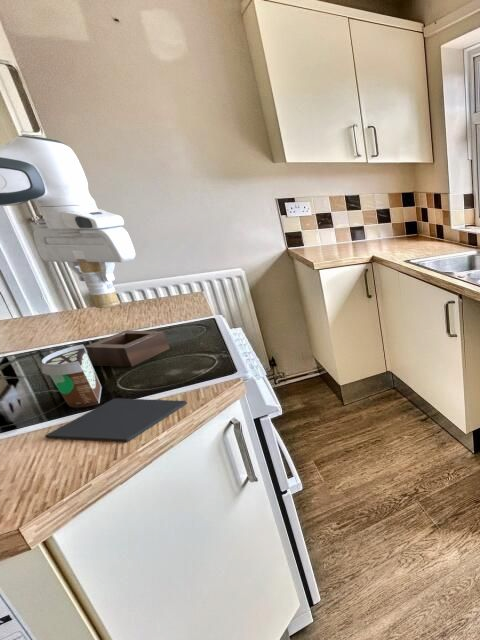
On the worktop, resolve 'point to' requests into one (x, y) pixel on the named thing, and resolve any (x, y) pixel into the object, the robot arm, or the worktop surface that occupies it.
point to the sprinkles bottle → (96, 282)
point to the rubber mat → (117, 420)
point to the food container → (73, 376)
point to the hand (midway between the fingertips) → (98, 280)
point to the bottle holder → (127, 348)
